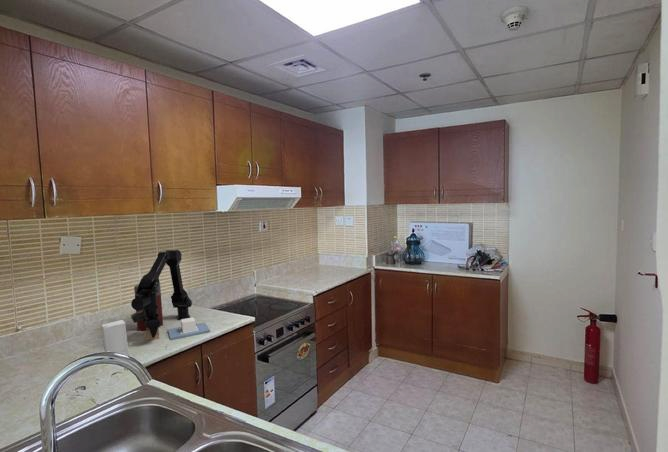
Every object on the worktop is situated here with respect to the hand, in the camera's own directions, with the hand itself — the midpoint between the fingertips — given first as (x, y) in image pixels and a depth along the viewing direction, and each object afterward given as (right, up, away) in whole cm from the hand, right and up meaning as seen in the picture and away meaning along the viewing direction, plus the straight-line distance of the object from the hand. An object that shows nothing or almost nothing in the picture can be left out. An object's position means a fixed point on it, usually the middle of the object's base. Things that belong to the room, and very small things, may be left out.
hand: (152, 335), depth 178 cm
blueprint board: (+14, 0, +7) cm, 16 cm away
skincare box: (-6, -3, -20) cm, 21 cm away
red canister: (-10, -1, +15) cm, 18 cm away
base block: (+14, +1, +7) cm, 16 cm away
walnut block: (0, -1, 0) cm, 1 cm away
